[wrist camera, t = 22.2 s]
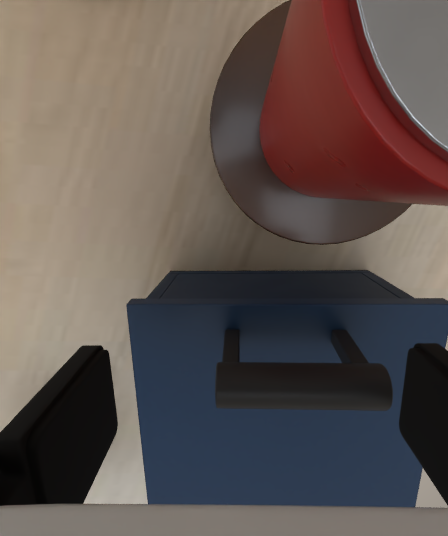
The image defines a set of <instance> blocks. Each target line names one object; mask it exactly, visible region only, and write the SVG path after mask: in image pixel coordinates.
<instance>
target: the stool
mask: <svg viewBox="0 0 448 536" xmlns="http://www.w3.org/2000/svg"><path fill="white" fill-rule="evenodd" d="M291 1H292V0H289V1H287V2H285V3H283V4H281V5H280V6H278V7H276V8H275V9H273V10H271V11H270V12H269V13H267V14H266V15H265V16H264V17H262V18H261V19H260V20H259V21H257V22H256V23H255V24H254V25H253V26H252V27H251V28H250V29H249V30H248V31H247V32H246V33H245V34H244V36H243V37H242V38H241V40H240V41H239V42H238V44H237V45H236V46H235V48H234V49H233V51H232V52H231V54H230V56H229V58H228V59H227V61H226V63H225V65H224V67H223V69H222V72H221V74H220V76H219V79H218V82H217V85H216V89H215V92H214V96H213V101H212V107H211V113H210V138H211V147H212V152H213V157H214V162H215V164H216V167H217V170H218V173H219V176H220V178H221V180H222V182H223V184H224V186H225V188H226V190H227V191H228V193H229V194H230V196H231V197H232V199H233V200H234V202H235V203H236V204H237V205H238V206H239V208H240V209H241V210H242V211H243V212H244V213H245V214H246V215H247V216H248V217H249V218H251V219H252V220H253V221H254V222H255V223H257V224H258V225H260V226H261V227H263V228H264V229H266V230H267V231H269V232H271V233H273V234H276V235H278V236H280V237H282V238H286V239H289V240H292V241H295V242H301V243H306V244H320V245H324V244H337V243H342V242H347V241H352V240H355V239H358V238H361V237H364V236H367V235H369V234H371V233H373V232H375V231H377V230H379V229H381V228H383V227H384V226H386V225H387V224H389V223H390V222H392V221H394V220H395V219H396V218H397V217H398V216H400V215H401V214H402V213H403V212H405V211H406V210H407V209H408V208H409V207H410V206H411V205H412V204H411V203H395V202H379V201H363V200H347V199H331V198H316V197H311V196H307V195H304V194H301V193H299V192H296V191H294V190H292V189H291V188H289V187H288V186H287V185H285V184H284V183H283V182H282V181H281V180H280V179H279V178H278V177H277V176H276V175H275V174H274V173H273V171H272V170H271V168H270V166H269V165H268V163H267V161H266V159H265V156H264V153H263V150H262V147H261V141H260V130H259V127H260V117H261V112H262V107H263V104H264V100H265V96H266V93H267V89H268V85H269V82H270V78H271V74H272V71H273V67H274V63H275V60H276V56H277V52H278V49H279V45H280V41H281V38H282V34H283V30H284V27H285V23H286V19H287V16H288V12H289V8H290V5H291Z"/></svg>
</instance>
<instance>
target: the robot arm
mask: <svg viewBox="0 0 448 536" xmlns="http://www.w3.org/2000/svg"><path fill="white" fill-rule="evenodd" d="M117 426H118V422H117V413H116V405H115V397H114V389H113V381H112V373H111V365H110V357H109V352H108V351H107V350H104V349H103V347H102V346H82V347H80V348H79V349H78V350H77V352H76V353H75V354H74V355H73V356H72V357H71V358H70V359H69V360H68V361H67V362H66V363H65V364H64V365H63V366H62V367H61V369H60V370H59V371H58V372H57V373H56V374H55V375H54V376H53V377H52V378H51V379H50V380H49V381H48V382H47V383H46V384H45V386H44V387H43V388H42V389H41V390H40V391H39V392H38V393H37V394H36V395H35V396H34V397H33V398H32V399H31V400H30V401H29V403H28V404H27V405H26V406H25V407H24V408H23V409H22V410H21V411H20V412H19V413H18V414H17V415H16V416H15V417H14V418H13V420H12V421H11V422H10V423H9V424H8V425H7V426H6V427H5V428H4V429H3V430H2V431H1V432H0V536H448V508H423V507H421V508H420V507H367V506H295V505H193V504H83V503H84V500H85V498H86V496H87V494H88V492H89V490H90V488H91V486H92V484H93V481H94V479H95V477H96V475H97V473H98V471H99V469H100V467H101V465H102V462H103V460H104V458H105V456H106V454H107V452H108V450H109V448H110V446H111V444H112V441H113V439H114V437H115V435H116V432H117ZM399 429H400V432H401V435H402V437H403V438H404V440H405V441H406V443H407V444H408V446H409V447H410V449H411V450H412V452H413V453H414V455H415V456H416V458H417V459H418V461H419V462H420V464H421V466H422V467H423V468H424V470H425V472H426V473H427V475H428V476H429V478H430V479H431V481H432V482H433V484H434V485H435V487H436V488H437V490H438V491H439V493H440V494H441V496H442V497H443V499H444V500H445V502H446V503H447V505H448V351H447V350H446V349H445V348H443V347H442V346H441V345H439V344H438V343H417V344H415V345H414V347H413V348H410V349H409V351H408V355H407V363H406V370H405V378H404V386H403V394H402V402H401V410H400V418H399Z"/></svg>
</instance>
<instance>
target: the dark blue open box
mask: <svg viewBox="0 0 448 536" xmlns="http://www.w3.org/2000/svg"><path fill="white" fill-rule="evenodd" d="M301 298H414V297H412V296H410V295H409V294H407V293H405V292H404V291H402V290H400V289H399V288H397V287H395V286H394V285H392V284H390V283H389V282H387V281H385V280H384V279H382V278H380V277H379V276H377V275H375V274H374V273H372V272H370V271H368V270H329V271H170V272H169V273H168V274H167V275H166V276H165V278H164V279H163V280H162V281H161V282H160V283H159V284H158V286H157V287H156V288H155V289H154V290H153V291H152V292H151V294H150V295H149V296H148V297H147V298H146V299H301Z"/></svg>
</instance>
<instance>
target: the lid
mask: <svg viewBox="0 0 448 536" xmlns="http://www.w3.org/2000/svg"><path fill="white" fill-rule="evenodd" d="M126 306H127V315H128V324H129V333H130V342H131V352H132V361H133V370H134V379H135V388H136V398H137V407H138V416H139V425H140V435H141V444H142V453H143V462H144V471H145V481H146V490H147V499H148V504H193V505H295V506H367V507H415V505H416V499H417V494H418V489H419V484H420V479H421V473H422V468H423V467H422V466H421V464H420V462H419V461H418V459H417V458H416V456H415V455H414V453H413V452H412V450H411V449H410V447H409V446H408V444H407V443H406V441H405V440H404V438H403V437H402V435H401V432H400V429H399V418H400V410H401V402H402V394H403V386H404V378H405V370H406V363H407V355H408V351H409V349H410V348H413V347H414V345H415V344H417V343H438V344H439V345H441V346H442V347H443V348H445V347H446V341H447V336H448V301H447V300H445V299H443V298H301V299H131V300H130V301H129V302H128V303H127V305H126Z"/></svg>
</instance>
